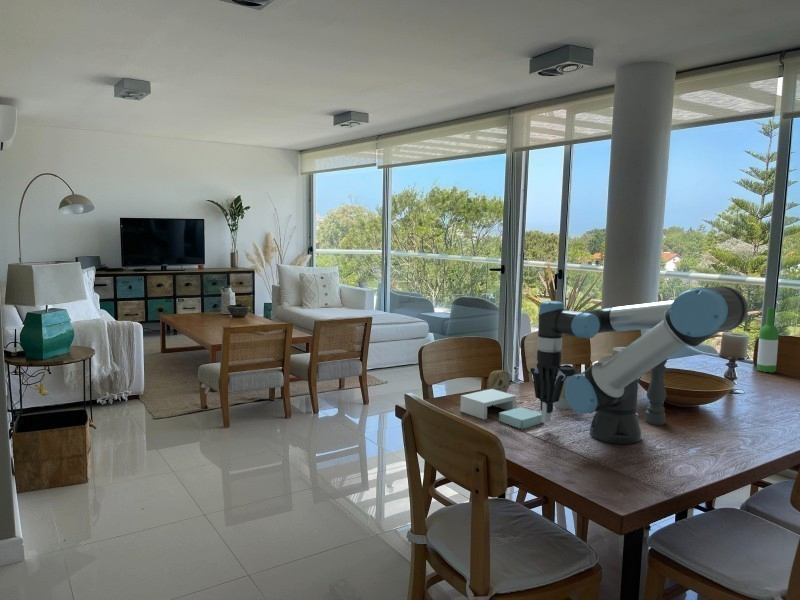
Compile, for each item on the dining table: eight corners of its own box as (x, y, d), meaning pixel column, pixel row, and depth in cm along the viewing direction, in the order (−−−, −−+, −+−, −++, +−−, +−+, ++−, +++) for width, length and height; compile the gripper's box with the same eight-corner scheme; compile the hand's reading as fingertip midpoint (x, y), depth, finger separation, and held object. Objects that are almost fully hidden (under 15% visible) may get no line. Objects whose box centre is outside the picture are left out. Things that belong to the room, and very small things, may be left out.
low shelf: (515, 411, 214) (515, 395, 213) (483, 419, 204) (484, 403, 203) (491, 403, 223) (491, 388, 222) (460, 411, 213) (460, 395, 212)
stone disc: (503, 392, 239) (504, 367, 238) (510, 394, 236) (511, 369, 235) (484, 395, 233) (485, 370, 232) (491, 398, 230) (492, 372, 229)
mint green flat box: (543, 422, 201) (543, 414, 200) (521, 429, 194) (522, 420, 194) (520, 415, 209) (520, 407, 208) (498, 421, 202) (499, 412, 202)
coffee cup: (570, 411, 214) (572, 370, 212) (546, 406, 219) (548, 366, 218) (579, 405, 221) (581, 366, 219) (556, 401, 227) (558, 362, 225)
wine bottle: (778, 373, 277) (784, 309, 274) (760, 372, 278) (765, 308, 275) (771, 369, 284) (776, 307, 281) (753, 369, 286) (758, 306, 282)
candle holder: (642, 422, 203) (646, 349, 200) (649, 418, 207) (653, 347, 205) (660, 426, 199) (665, 352, 196) (667, 422, 203) (672, 349, 200)
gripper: (573, 351, 187) (570, 424, 190) (540, 345, 198) (537, 414, 200) (558, 354, 183) (555, 429, 186) (525, 347, 193) (522, 418, 196)
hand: (546, 421), depth 193 cm, fingers closed
